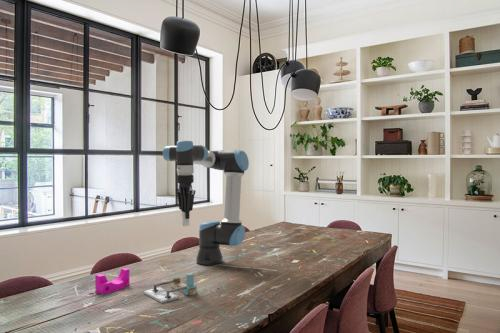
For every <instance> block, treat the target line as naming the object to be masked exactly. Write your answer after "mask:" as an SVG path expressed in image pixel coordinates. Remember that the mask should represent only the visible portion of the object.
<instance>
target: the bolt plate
mask: <svg viewBox="0 0 500 333" xmlns="http://www.w3.org/2000/svg"><path fill="white" fill-rule="evenodd" d="M167 290H168V289H165V288H163V287H162V286H159V287H158V286H157V290H154V288H151V289H147V290H143V294H144V295H145V296H147V297H149V298H150V299H153V300H155V301H157V302H159V303H160V304H165V303H169V302H172V301H176V300H178V299H180V296H179V295H178V294H175V293H173V292H170V293H169V297H167V293H166V291H167Z"/></svg>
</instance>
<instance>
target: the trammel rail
mask: <svg viewBox="0 0 500 333" xmlns="http://www.w3.org/2000/svg"><path fill="white" fill-rule="evenodd" d="M168 284H170V288H172V289H175V288H179V287H183V286H185V285H187V283H186V284H185V283H183V282H181V277H174V278H173V279H171V280H167V281H162V282H160V283H155V284H153V289H154V290H157V288H158V286H159V287H161V286H163V285H168ZM178 291H179V292H181V293H183V289H182V290H178ZM196 294H197V293H196V289H195V288H192V289H189V295H188V296H194V295H196Z"/></svg>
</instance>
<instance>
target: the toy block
mask: <svg viewBox="0 0 500 333" xmlns="http://www.w3.org/2000/svg"><path fill="white" fill-rule="evenodd" d="M94 283H95V284H94V285H95V288H94V289H95V293H98V294H101V295H105V294H109V293H113V292H116V291H119V290H122V289H124V288H125V287H127V286H130V268H127V267H123V268H120V272H119V274H118V276H117V277H115V279H114V280H110V281H109V280H108V279H107V276H106V275H105V274H102V273H98V274H95V282H94Z"/></svg>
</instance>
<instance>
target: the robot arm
mask: <svg viewBox="0 0 500 333" xmlns="http://www.w3.org/2000/svg"><path fill="white" fill-rule="evenodd" d="M207 148H208V147H206V146H204V145H201V144H200V145H196V144H195V145H194V142H193V141H192V140H178V141H176V145H167V146H165V147H164V148H163V150H162V157H163V159H164V161H167V162H176V174H177V175H176V183H177V184H178V188H176V189H175V192H176V196H177V204H178V208H179V209H178V210H180V211H181V216H182V227H188V226H190V212H191V211H193V210H194V209H193V208H194V201H195V194H196V190H194V189H193V185H192V184H193V183H194V179H195V178H194V176H195V175H194V172H195V171H194V170H195V169H194V164H195V165H201V166H202V167H204V168H208V169H213V170H218V171H223V174H224V175H225V176H226V177H225V196H224V197H225V198H224V212H223V219H222V220H221V221H220V220H211V221H205V222H201V223H200V224H199V229H198V231H199V233H198V234H199V235H198V236H199V243H198V244H199V245H198V246H199V249H198V251H197V254H196V259H195V260H196V261H195V262H196V263H197V264H198V265H206V266H209V265H218V264H221V263H222V262H223V254H222V251H221V248H220V246H230V247H239V246H240V245H241V244H243V241H244V240H245V235H246V228H245V226H244V225H242V222H243V221H241V220H240V208H241V207H240V206H241V190H242V177H243V176H244V175H245V171H247V170H248V169H249V157H248V155H247V153H246V151H244V150H241V149H232V150H231V149H230V150H229V149H226V150H223V149H221V150H209V149H207Z"/></svg>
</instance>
